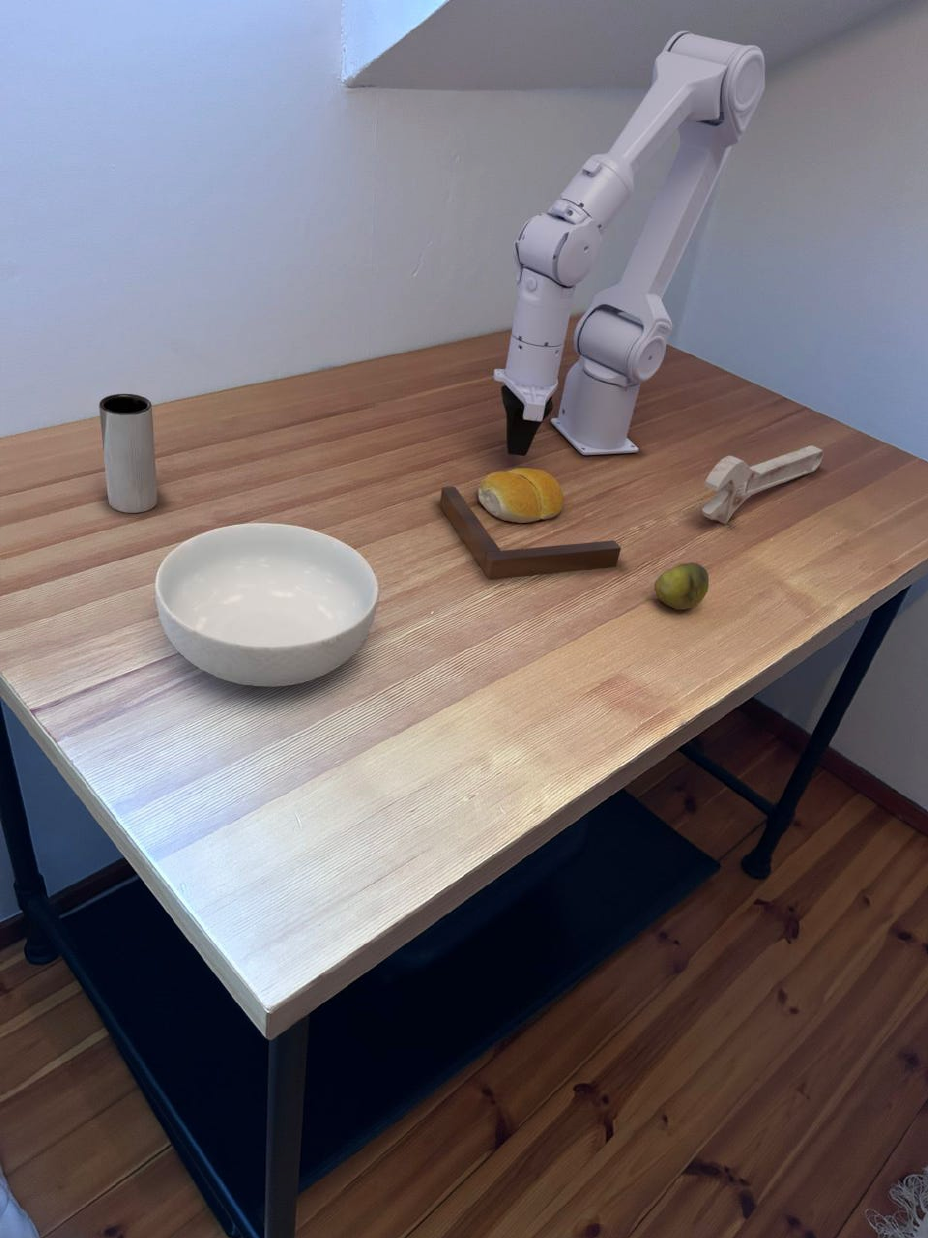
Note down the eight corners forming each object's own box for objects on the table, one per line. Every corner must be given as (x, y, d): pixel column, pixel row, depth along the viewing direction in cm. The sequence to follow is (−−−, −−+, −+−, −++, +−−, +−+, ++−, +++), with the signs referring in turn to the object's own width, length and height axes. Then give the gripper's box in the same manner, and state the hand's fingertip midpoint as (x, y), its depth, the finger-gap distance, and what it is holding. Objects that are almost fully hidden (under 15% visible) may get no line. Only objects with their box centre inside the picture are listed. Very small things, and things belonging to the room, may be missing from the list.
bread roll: (574, 516, 102) (582, 484, 100) (507, 531, 97) (514, 498, 95) (530, 481, 107) (536, 449, 105) (464, 493, 103) (469, 460, 100)
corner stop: (439, 505, 100) (441, 487, 98) (556, 497, 105) (560, 479, 104) (489, 579, 90) (492, 560, 88) (616, 566, 95) (621, 547, 94)
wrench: (809, 489, 122) (700, 535, 101) (797, 483, 123) (686, 528, 102) (835, 430, 118) (727, 466, 97) (822, 425, 119) (712, 459, 98)
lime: (644, 604, 90) (657, 560, 87) (669, 586, 93) (683, 543, 90) (684, 626, 88) (699, 582, 85) (708, 607, 91) (724, 564, 88)
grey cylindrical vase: (167, 500, 93) (162, 402, 87) (135, 518, 90) (128, 418, 84) (130, 485, 94) (123, 388, 88) (98, 503, 91) (87, 404, 85)
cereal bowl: (179, 737, 68) (175, 661, 64) (144, 603, 80) (139, 532, 75) (401, 698, 74) (410, 626, 70) (338, 580, 86) (343, 513, 82)
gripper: (497, 309, 106) (479, 421, 114) (504, 357, 94) (484, 478, 102) (559, 317, 106) (537, 428, 114) (574, 366, 95) (548, 485, 103)
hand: (516, 452), depth 108 cm, fingers closed
